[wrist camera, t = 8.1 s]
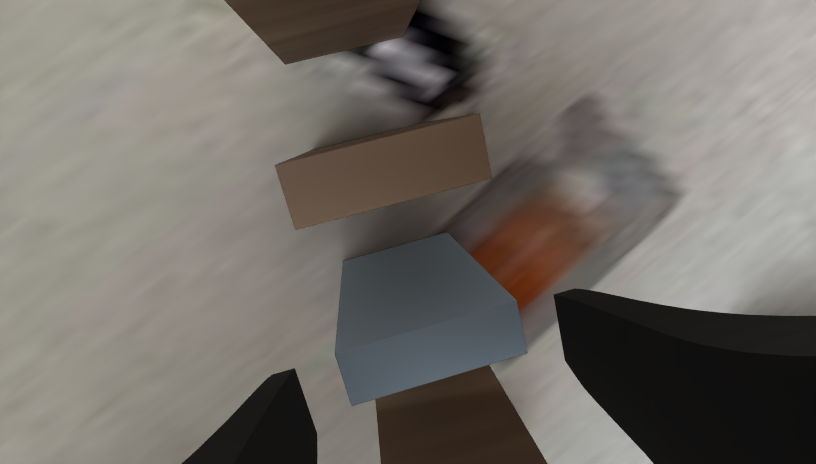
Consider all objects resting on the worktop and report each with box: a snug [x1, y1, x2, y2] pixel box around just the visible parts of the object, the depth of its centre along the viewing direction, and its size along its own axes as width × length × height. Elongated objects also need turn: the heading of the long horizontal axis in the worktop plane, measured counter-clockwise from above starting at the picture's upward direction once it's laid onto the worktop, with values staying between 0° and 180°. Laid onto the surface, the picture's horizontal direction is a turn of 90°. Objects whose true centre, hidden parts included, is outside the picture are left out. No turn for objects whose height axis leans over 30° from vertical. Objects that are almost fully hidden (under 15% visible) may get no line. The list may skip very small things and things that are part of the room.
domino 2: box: [376, 365, 547, 464], centre depth 17 cm, size 2×5×9 cm, turn 104°
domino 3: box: [335, 232, 528, 406], centre depth 16 cm, size 2×5×9 cm, turn 104°
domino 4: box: [275, 114, 492, 230], centre depth 15 cm, size 2×5×9 cm, turn 103°
